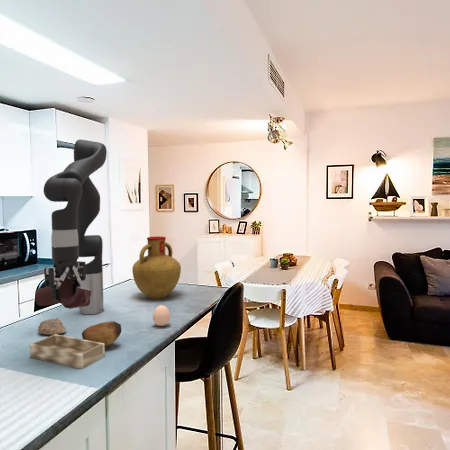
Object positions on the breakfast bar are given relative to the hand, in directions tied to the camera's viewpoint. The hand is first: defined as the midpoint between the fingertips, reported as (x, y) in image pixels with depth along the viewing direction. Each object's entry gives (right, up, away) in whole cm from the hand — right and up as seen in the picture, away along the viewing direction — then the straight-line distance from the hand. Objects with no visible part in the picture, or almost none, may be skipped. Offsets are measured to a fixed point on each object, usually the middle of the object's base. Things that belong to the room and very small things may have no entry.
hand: (66, 298), depth 113 cm
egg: (+24, -17, +29) cm, 41 cm away
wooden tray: (0, -18, +1) cm, 18 cm away
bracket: (-1, -3, +1) cm, 3 cm away
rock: (-15, -17, +23) cm, 32 cm away
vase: (+14, -14, +72) cm, 75 cm away
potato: (+7, -18, +9) cm, 22 cm away
